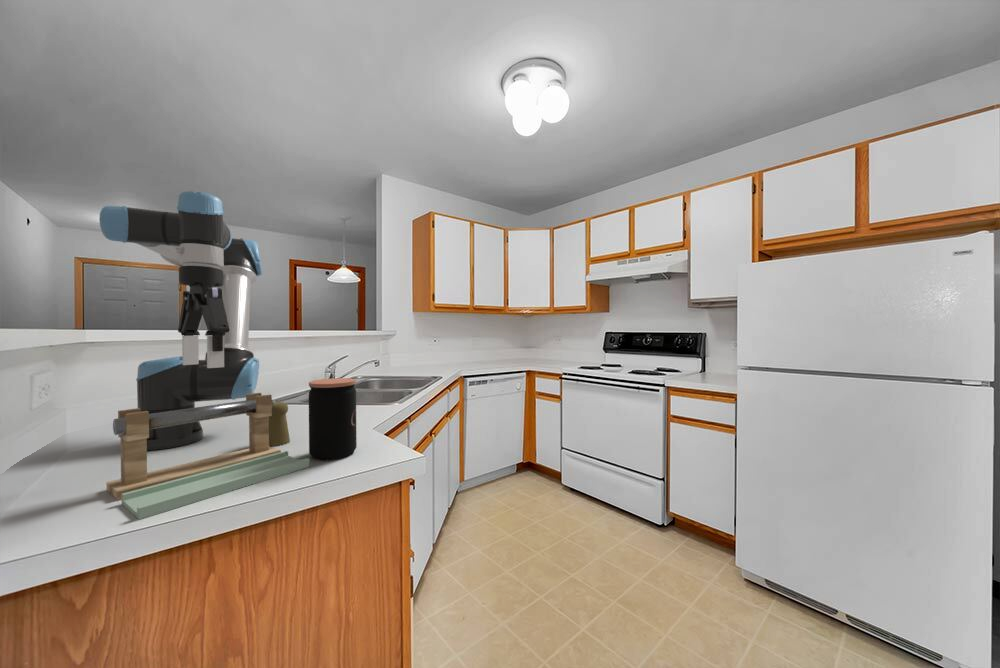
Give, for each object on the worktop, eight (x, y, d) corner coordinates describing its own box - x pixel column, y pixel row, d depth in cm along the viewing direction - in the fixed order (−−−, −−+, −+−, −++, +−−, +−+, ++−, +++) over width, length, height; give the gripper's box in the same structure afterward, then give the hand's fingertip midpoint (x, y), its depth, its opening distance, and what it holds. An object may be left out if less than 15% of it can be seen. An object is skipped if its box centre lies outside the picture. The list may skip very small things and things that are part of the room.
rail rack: (106, 490, 71) (105, 411, 71) (264, 450, 95) (264, 391, 95) (117, 500, 67) (116, 416, 67) (280, 456, 90) (280, 394, 90)
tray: (121, 504, 66) (121, 493, 66) (286, 458, 89) (286, 450, 89) (139, 519, 60) (138, 508, 60) (309, 466, 83) (309, 458, 83)
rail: (117, 436, 69) (117, 419, 69) (113, 433, 70) (112, 417, 70) (272, 410, 91) (272, 397, 91) (266, 408, 93) (266, 396, 93)
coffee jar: (361, 455, 91) (360, 381, 91) (312, 464, 85) (311, 385, 84) (351, 444, 99) (350, 377, 99) (306, 452, 93) (305, 380, 93)
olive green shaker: (278, 447, 98) (277, 405, 98) (258, 445, 99) (258, 404, 99) (295, 440, 104) (295, 400, 103) (276, 439, 105) (276, 400, 105)
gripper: (159, 270, 84) (160, 364, 84) (203, 257, 71) (204, 370, 71) (200, 274, 91) (201, 362, 91) (247, 263, 77) (248, 367, 77)
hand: (202, 366), depth 81 cm, fingers open, 13 cm apart
